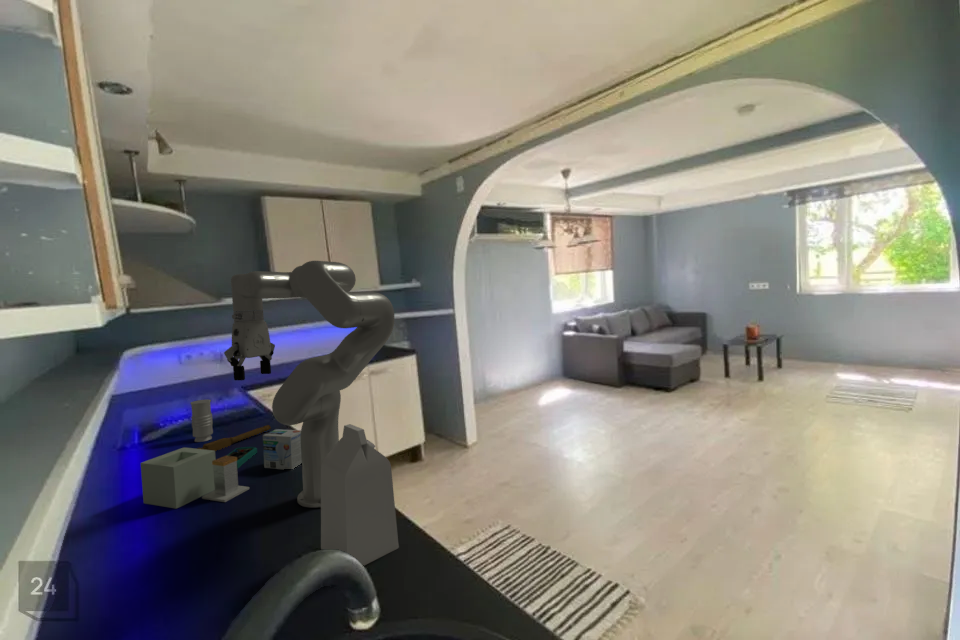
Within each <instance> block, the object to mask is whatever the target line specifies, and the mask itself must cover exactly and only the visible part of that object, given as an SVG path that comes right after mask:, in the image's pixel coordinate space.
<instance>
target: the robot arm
mask: <svg viewBox="0 0 960 640" xmlns="http://www.w3.org/2000/svg"><path fill="white" fill-rule="evenodd" d="M230 284H231V287H230V288H231V298H232V310H233V312H232V313H233V314H232V315H231V318H232V320H233V323H232V329H231V346H230V347H229V348H227V349H226V350H225V351H224V352H223V354H224V356H225V358H226V360H227V362H228V363H229V364H230V366H231V367H232V370H233V371H232V373H233V380H234V381H245V379H246V374H245V366H244V365H243V364H244V361H245V360H246V359H252V358H258V357H259V358H260V361H259V364H260V365H259V367H260V374H261V375H271V374H272V368H271V367H272V365H271V360H272V359H273V358H272V357H273V355H274V352H275V347H276V345H275V343H273V342H271V337H270V331H269V327H268V324H267V321H265V319H264V305H263V304H264V303H263V299H265V300H267V299H293V298H302V299H306V300H307V301H308V302H309V303H310V304H311V305H312V306H313V307H314V308H315V309H316V310H317V312H318V313H319V315H321V316H322V317H323V318H324V319H325V321H327V322H328V323H329V324H330V325H332V326H333V327H335V328H339V329H352V328H353V329H354V330H353V331H351V332H350V333H348V334H347V335H346V336H345V337H344V338H343V339H342V340H341V342H340V343H339V344H338V346H337V347H335V349H334V350H333V351H331V352H330V353H326V354H325V355H320V356H314V357H313V356H312V357H310V358H307V359H305V360H303V361H301V362H300V363H299V364H297V365H296V366H295V368H294V369H293V370H292V371H291V372H290V374H289V375H288V377H287V378H286V379H285V380H284V382H283V383H282V385H280V387H279V388H278V389H277V391H276V393H275V395H274V397H273V399H272V404H271V411H272V415H273V417H274V419H275V420H276V421H277V422H278V423H279V424H281V425H284V426H294V425H295V426H296V425H298V424H301V423H302V425H301V429H300V430H301V435H300V438H301V458H302V465H301V473H302V489H303V490H302V491H301V492H300V493H298V495H297V498H296V499H297V500H296V502H297V504H298V505H300V506H302V507H303V508H313V509H315V508H321V465H322V462H323V460H324V458H325V457H326V456H327V454H328V453H329V452H330V451H331V450H332V449H333V447H334V446H335V445H336V444H337V443H338V441H339V440H340V439H339V433H340V431H339V416H340V415H339V414H340V408H341V400H342V398H341V395H342V394H341V391H342V390H345V389H347V388H348V387H350V386H351V385H352V384H353V382H355V380H356V379H357V377H359V375H360V374H362V372H363V370H365V368H366V367H367V366H368V364H369V362H371V361H372V359H373V358H374V357H375V355H377V353H378V352H379V351H380V350H381V349H382V348H383V346H385V344H386V343H387V342H388V340H389V339H390V337H391V335H392V332H393V330H394V325H395V310H394V305H393V304H392V302H391V300H390V299H389V298H388V297H387V296H386V295H384V294H382V293H380V292H376V291H364V290H363V291H352V290H353V289H354V286H355V285H356V275H355V273H354V270H353V269H352V268H351V267H350V266H348V265H347V264H345V263H342V262H339V261H338V262H337V261H326V260H324V261H323V260H309V261H307V262H304V263H303V264H302V265H299V266H296V267H295V268H293V270H291V271H290V272H287V271H286V272H285V271H284V272H283V271H282V272H281V271H263V270H262V271H261V270H259V271H258V270H256V271H250V272H247V273H236V274H234V275H232V276H231V279H230Z"/></svg>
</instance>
